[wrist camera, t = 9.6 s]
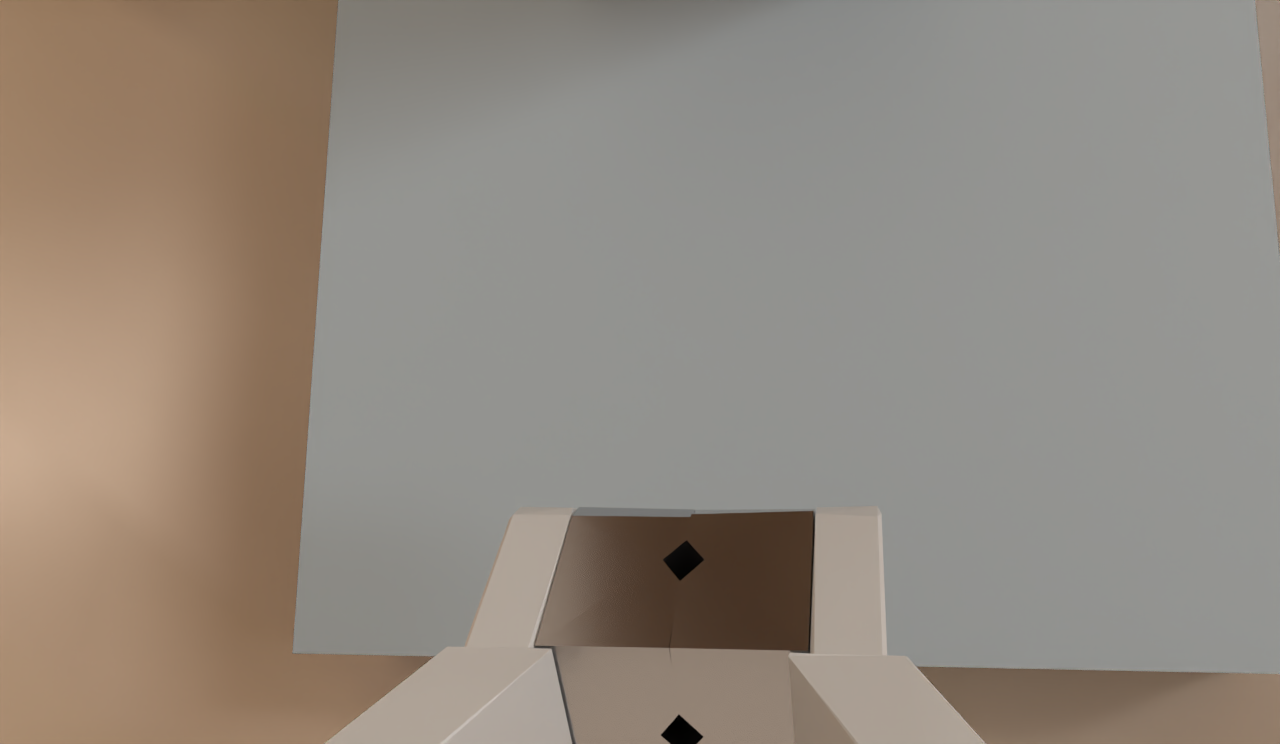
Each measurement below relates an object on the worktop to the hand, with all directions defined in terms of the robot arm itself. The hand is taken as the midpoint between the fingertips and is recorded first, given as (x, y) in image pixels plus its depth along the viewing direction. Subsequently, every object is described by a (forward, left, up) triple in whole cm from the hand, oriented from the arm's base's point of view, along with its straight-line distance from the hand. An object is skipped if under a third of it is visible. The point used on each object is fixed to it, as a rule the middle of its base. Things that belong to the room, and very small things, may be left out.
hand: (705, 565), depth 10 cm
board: (0, -7, -7) cm, 10 cm away
